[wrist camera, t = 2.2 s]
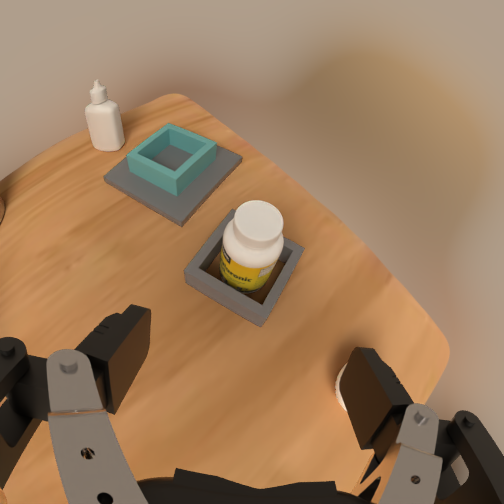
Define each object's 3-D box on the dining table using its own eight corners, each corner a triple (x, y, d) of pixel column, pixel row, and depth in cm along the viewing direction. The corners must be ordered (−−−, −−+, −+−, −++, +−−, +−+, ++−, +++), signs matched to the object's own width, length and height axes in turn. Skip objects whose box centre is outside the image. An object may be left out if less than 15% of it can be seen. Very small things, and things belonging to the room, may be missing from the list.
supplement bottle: (208, 268, 30) (211, 212, 22) (245, 242, 32) (260, 183, 24) (242, 305, 28) (259, 260, 20) (278, 275, 31) (306, 223, 22)
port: (104, 181, 34) (98, 160, 30) (168, 130, 41) (167, 110, 37) (181, 227, 32) (180, 205, 29) (241, 161, 39) (245, 140, 36)
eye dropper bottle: (112, 132, 39) (102, 71, 29) (128, 145, 38) (118, 79, 28) (91, 145, 37) (75, 83, 27) (105, 159, 36) (89, 92, 26)
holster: (185, 282, 29) (184, 270, 26) (229, 224, 33) (232, 208, 31) (260, 327, 28) (266, 319, 25) (296, 261, 32) (304, 248, 29)
